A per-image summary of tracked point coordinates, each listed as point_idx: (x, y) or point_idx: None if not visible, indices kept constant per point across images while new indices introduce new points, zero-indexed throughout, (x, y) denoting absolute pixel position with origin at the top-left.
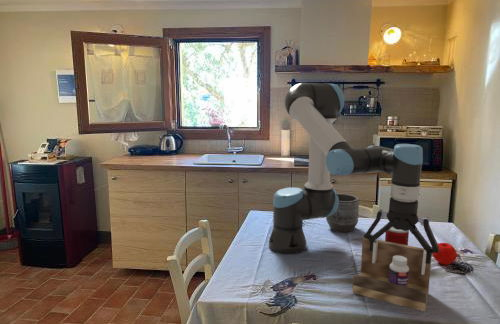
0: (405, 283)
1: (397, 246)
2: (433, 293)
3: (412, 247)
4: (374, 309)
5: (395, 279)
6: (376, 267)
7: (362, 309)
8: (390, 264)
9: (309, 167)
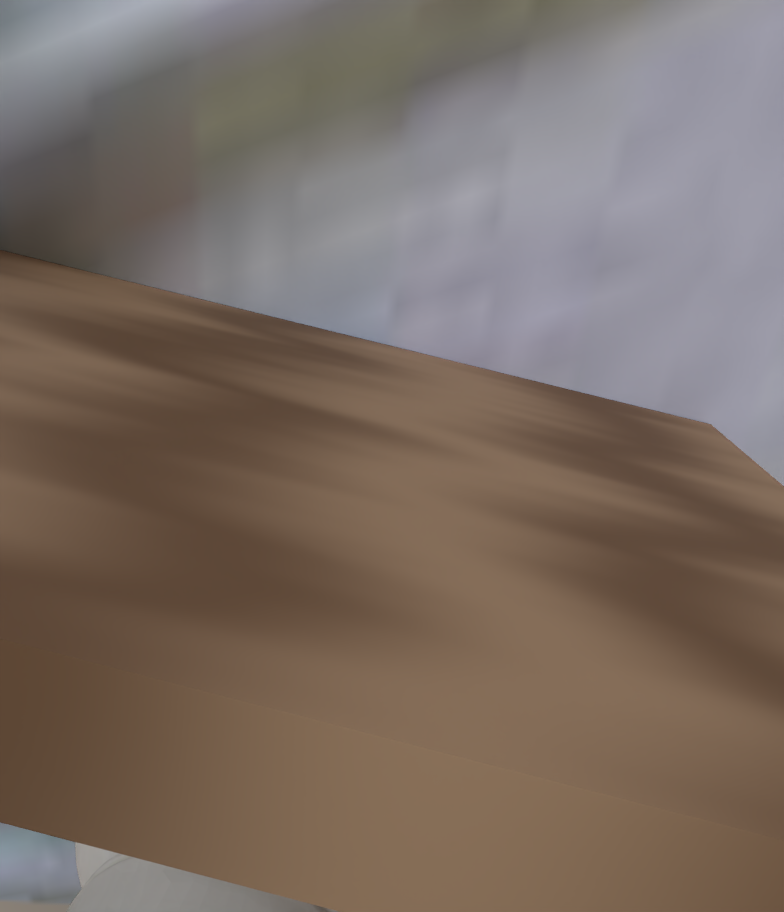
0: None
1: (8, 778)
2: (777, 407)
3: (549, 888)
4: None
5: None
6: None
7: (54, 843)
8: (78, 875)
9: None
